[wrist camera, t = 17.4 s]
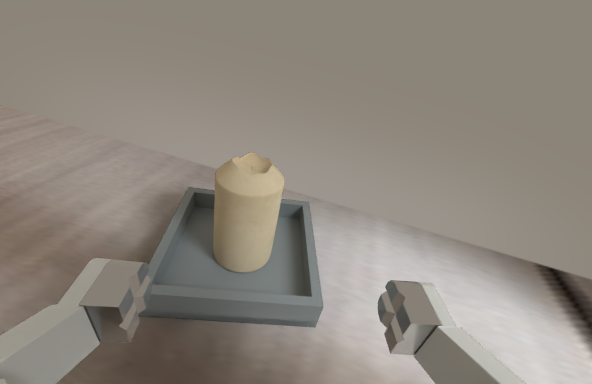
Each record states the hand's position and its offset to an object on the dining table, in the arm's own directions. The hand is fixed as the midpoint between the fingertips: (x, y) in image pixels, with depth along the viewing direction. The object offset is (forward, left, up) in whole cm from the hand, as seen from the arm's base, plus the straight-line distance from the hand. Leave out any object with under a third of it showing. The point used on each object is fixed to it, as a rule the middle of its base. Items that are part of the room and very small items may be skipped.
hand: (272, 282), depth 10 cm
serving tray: (+2, -13, -13) cm, 19 cm away
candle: (+2, -13, -13) cm, 18 cm away
